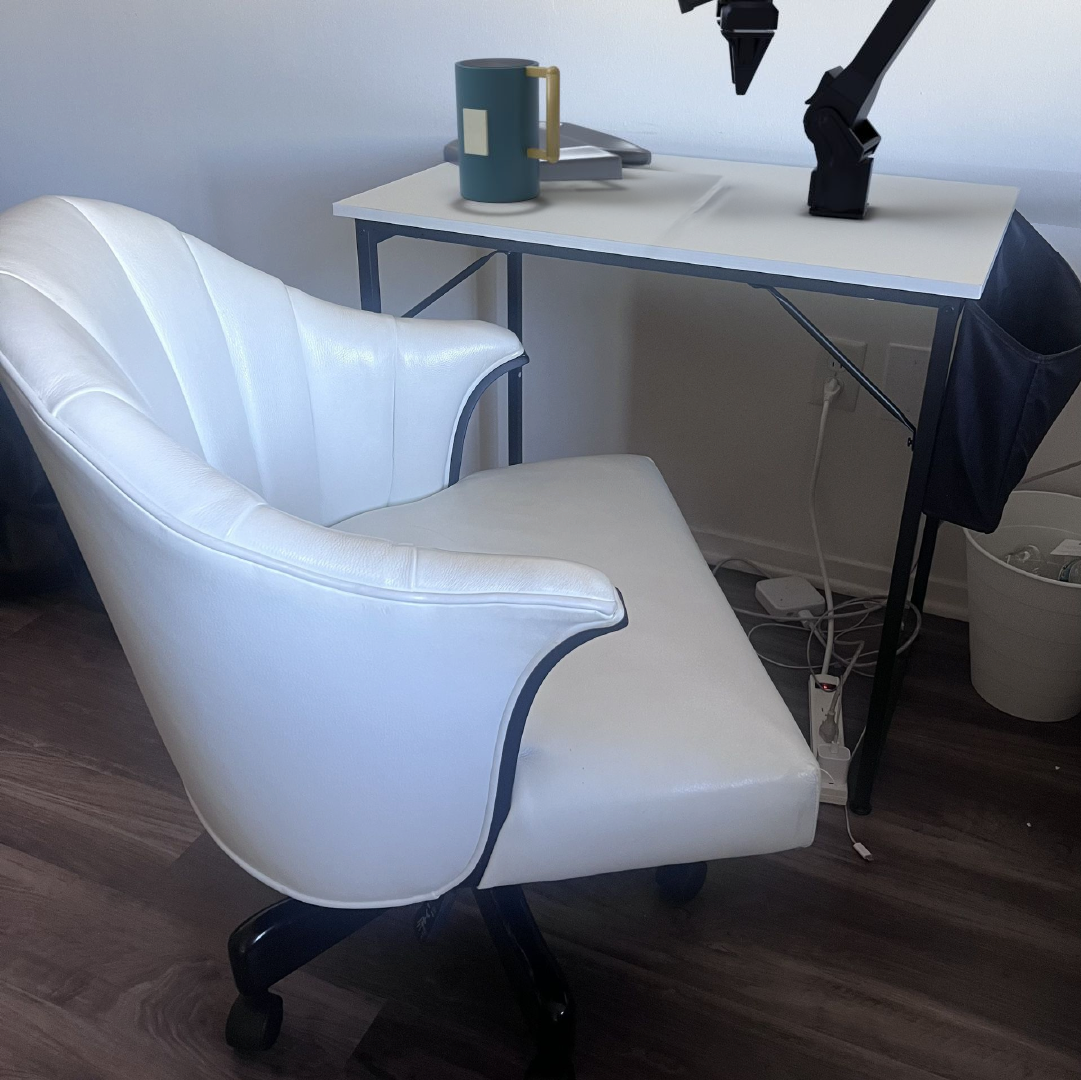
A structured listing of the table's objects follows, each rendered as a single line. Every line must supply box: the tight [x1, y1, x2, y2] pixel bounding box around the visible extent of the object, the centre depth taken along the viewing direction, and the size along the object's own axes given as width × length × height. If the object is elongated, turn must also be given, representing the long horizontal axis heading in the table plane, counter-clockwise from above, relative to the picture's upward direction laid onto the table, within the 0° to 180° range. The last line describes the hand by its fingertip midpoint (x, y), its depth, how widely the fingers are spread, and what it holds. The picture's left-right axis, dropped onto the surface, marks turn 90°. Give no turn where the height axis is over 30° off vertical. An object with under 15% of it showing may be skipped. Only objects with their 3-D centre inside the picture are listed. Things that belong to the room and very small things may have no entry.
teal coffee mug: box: [454, 57, 561, 204], centre depth 125 cm, size 14×10×15 cm
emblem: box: [442, 120, 653, 182], centre depth 146 cm, size 28×5×28 cm
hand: (738, 89), depth 126 cm, fingers open, 9 cm apart
